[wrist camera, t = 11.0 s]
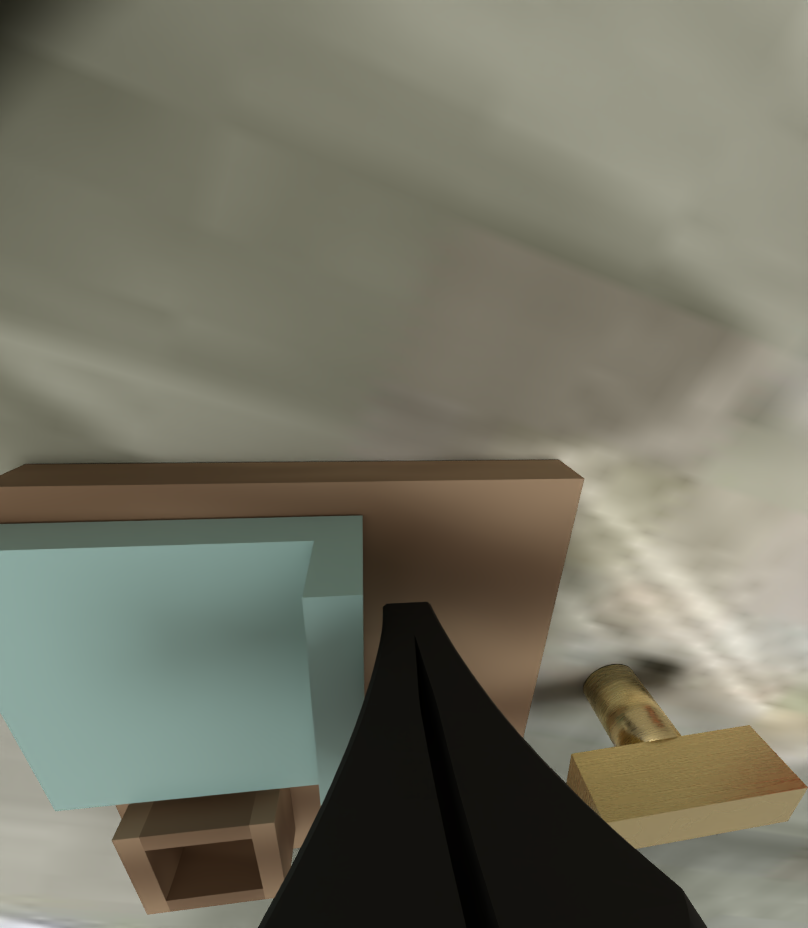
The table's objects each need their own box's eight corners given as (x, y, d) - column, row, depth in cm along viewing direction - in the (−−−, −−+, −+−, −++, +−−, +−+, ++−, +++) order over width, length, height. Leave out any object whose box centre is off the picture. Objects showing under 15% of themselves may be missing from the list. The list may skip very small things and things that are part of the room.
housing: (492, 786, 19) (519, 882, 16) (160, 822, 17) (114, 938, 14) (559, 460, 12) (629, 512, 9) (24, 464, 11) (-125, 531, 7)
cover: (365, 743, 14) (365, 855, 11) (80, 769, 13) (-1, 901, 10) (362, 515, 10) (362, 595, 8) (-36, 524, 9) (-218, 622, 6)
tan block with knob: (532, 712, 17) (595, 859, 13) (536, 675, 16) (605, 819, 12) (675, 690, 18) (785, 824, 13) (686, 654, 17) (810, 783, 12)
